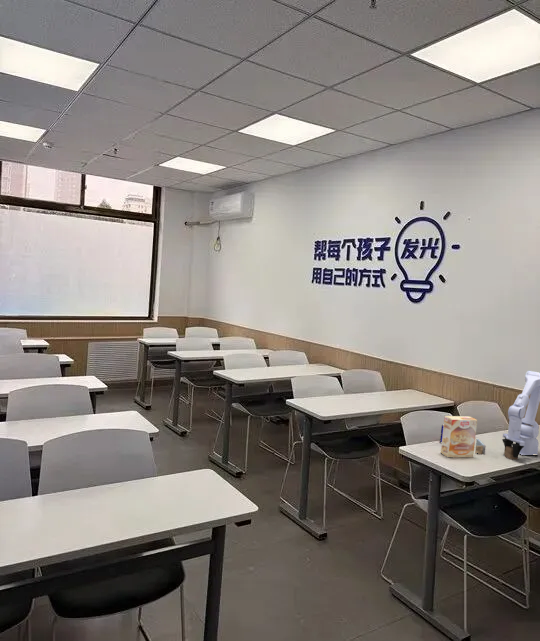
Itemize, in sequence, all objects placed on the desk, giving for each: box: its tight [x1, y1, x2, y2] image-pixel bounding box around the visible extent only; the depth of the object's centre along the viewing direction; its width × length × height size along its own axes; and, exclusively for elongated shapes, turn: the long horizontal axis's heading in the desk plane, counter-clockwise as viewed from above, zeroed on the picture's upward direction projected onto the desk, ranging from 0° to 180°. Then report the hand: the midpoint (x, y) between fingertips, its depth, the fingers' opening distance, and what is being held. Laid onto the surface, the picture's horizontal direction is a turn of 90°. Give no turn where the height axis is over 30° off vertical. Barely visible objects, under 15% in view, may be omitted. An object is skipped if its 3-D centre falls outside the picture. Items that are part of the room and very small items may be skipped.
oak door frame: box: [474, 445, 505, 455], centre depth 269 cm, size 18×2×4 cm, turn 101°
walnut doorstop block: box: [504, 446, 519, 460], centre depth 265 cm, size 4×4×6 cm
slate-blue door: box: [475, 438, 487, 455], centre depth 274 cm, size 13×1×4 cm, turn 173°
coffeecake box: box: [440, 415, 478, 458], centre depth 262 cm, size 15×7×20 cm, turn 105°
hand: (511, 455), depth 265 cm, fingers open, 5 cm apart
